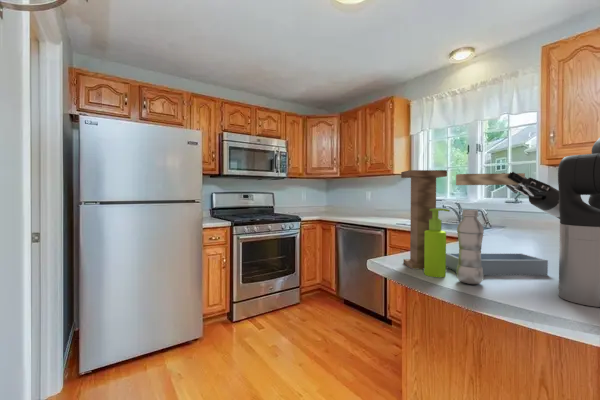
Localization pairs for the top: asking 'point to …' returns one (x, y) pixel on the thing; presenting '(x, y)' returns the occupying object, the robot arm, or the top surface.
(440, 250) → the soap dispenser
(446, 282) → the top surface
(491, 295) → the top surface
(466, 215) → the plastic bottle
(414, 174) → the walnut stand
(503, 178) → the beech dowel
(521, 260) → the slate tray
